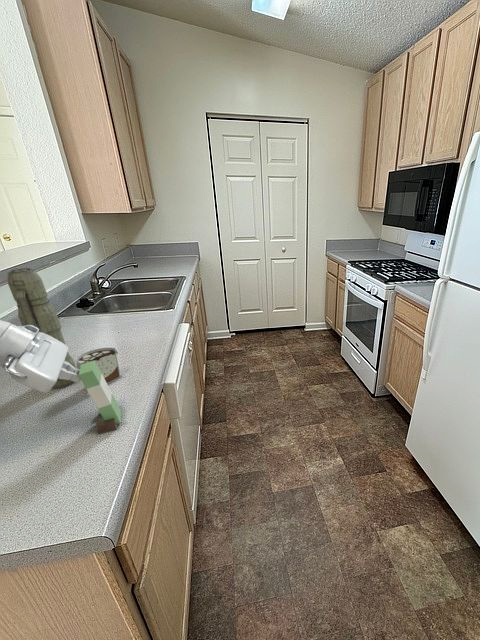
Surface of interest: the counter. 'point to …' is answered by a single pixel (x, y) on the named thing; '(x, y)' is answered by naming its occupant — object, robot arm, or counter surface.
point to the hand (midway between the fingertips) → (80, 377)
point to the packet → (99, 391)
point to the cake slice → (102, 362)
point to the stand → (106, 425)
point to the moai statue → (36, 308)
